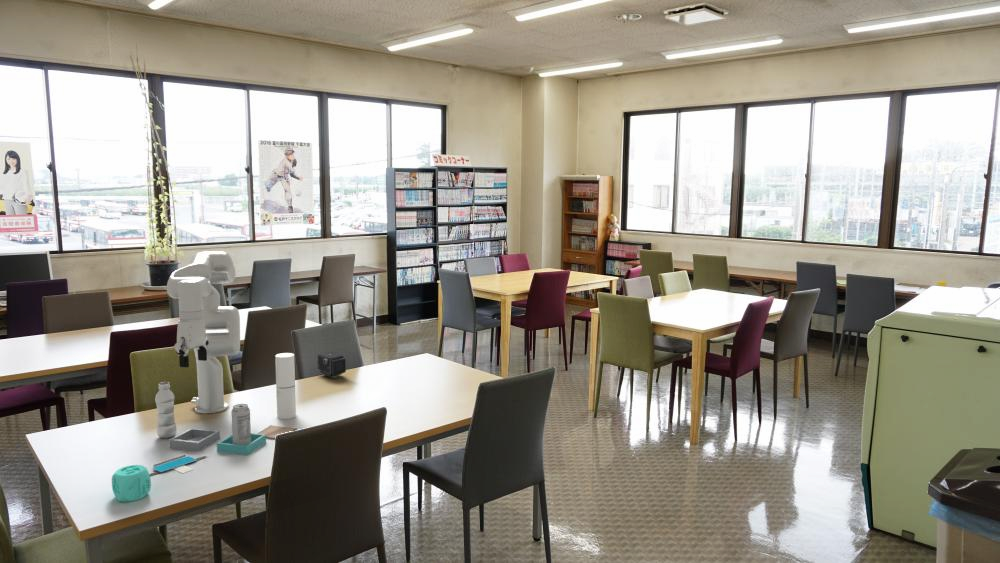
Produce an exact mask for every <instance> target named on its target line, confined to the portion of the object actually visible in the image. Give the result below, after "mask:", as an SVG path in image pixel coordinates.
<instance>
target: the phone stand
mask: <svg viewBox="0 0 1000 563" xmlns="http://www.w3.org/2000/svg"><path fill="white" fill-rule="evenodd" d="M205 458H207V456H205V455H203V456H200V457H196V458H194V457H192V456H190V455H187V456H186V454H184V455H180V456H177V457H174V458H171V459H168V460H164V461H162V462H158V463H156V464H153V465H152V469H153V470H154V472H151V473H149V475H150V477H152V476H155V475H158V474H161V473H164V472H167V471H170V470H171V471H172V470H174V471H176V472H178V473H180V474H185V473H189V472H191V471H194V469H193V468H191V467H189V466H187V465H188V464H192V463H194V462H197V461H200V460H202V459H205Z"/></svg>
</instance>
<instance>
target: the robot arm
mask: <svg viewBox="0 0 1000 563" xmlns="http://www.w3.org/2000/svg"><path fill="white" fill-rule="evenodd" d="M235 279H236V267H235V265H234V261H233V259H232V258H231V256H230V254H229V253H227V252H225V251H201V252H197V253H195V254H194V255H193V256H192V258H191V260H190V262H189V264H188V265H186V266H184V267H181V268H179V269H176V270H174V271H173V272H172V273H171V274H170V275H169V278H168V280H167V284H166V291H167V292H166V293H167V295H168V297H170V298H172V299H178V310H179V311H178V314H179V320H178V322H177V329H176V330H177V331H176V343H175V344H174V346H173V347H174V349H175V353H177V356H178V357H179V358H178V359H179V360H178V361H179V362H178V363H179V368H190V364H189V363H190V362H189V361H190V360H189V358H190V357H189V355H188V354H189V351H190V350H193V351H194V356H195V362H196V376H197V378H196V379H197V395H198V396H193V397H192V399H191V400H190V402H191V404H195V405H196V406H195V407H194V412H196V413H198V414H204V415H205V414H215V413H220V412H222V411H225V410H227V409H228V407H229V404H228V403H227V401H226V402H225V399H224V398H225V397H224V395H225V394H224V376H223V375H224V374H223V373H224V372H223V370H224V369H223V365H222V363H221V362H220V361H219V359H218V358H217V357H226V356H227V357H228V356H229V357H230V356H236V355H238V354H239V352H240V350H241V319H240V312H239V309H238V308H237V307H236V306H232V305H230V306H229V305H227V306H223V305H222V306H221V295H220V292H218V290H217V289H216V288H215V287H214V286H213V285H215V284H217V285H220V284H223V285H224V284H225V285H226V284H232V283H233V282H234V281H235ZM216 330H219V331H221V330H226V331H227V332H206V331H216Z"/></svg>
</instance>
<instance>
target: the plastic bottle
mask: <svg viewBox="0 0 1000 563" xmlns="http://www.w3.org/2000/svg"><path fill="white" fill-rule="evenodd" d="M170 384H171V383H170V382H169V381H163V382H159V383H158V392H157V393H156V394H155V398H154V401H155V405H156V406H155V407H156V411H157V427H156V433H157V436H158V437H159V438H162V439H167V438H173V437H175V436H176V433H177V425H176V420H175V414H174V413H175V412H174V409H175V408H174V407H175V406H174V405H175V398H176V397H175V394H174V393H173V391H172V390H171V389H170V388H171V385H170Z"/></svg>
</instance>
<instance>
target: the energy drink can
mask: <svg viewBox="0 0 1000 563" xmlns="http://www.w3.org/2000/svg"><path fill="white" fill-rule="evenodd" d="M230 413H231V431H232V432H231V433H232V434H231V435H232V438H233V444H236V445H245V446H246V445H248V444H250V443H251V433H252V428H251V409H250V407H249V405H248V404H246V403H238V404H234V405H233V406H232V409H231V412H230Z"/></svg>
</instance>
